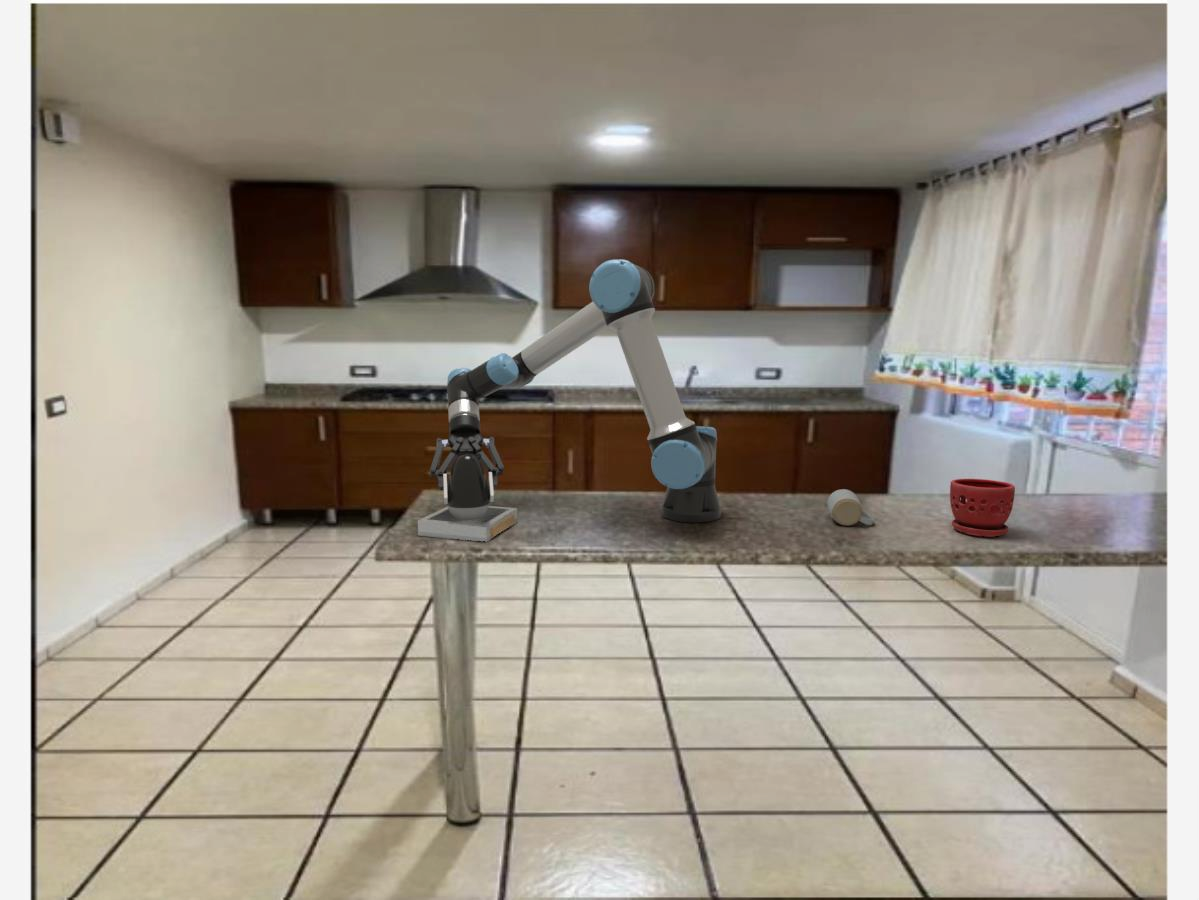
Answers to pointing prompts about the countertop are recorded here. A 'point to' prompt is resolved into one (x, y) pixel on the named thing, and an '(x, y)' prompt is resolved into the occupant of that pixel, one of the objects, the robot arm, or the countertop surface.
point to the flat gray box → (467, 524)
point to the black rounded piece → (468, 488)
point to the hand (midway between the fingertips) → (469, 499)
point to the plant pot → (981, 506)
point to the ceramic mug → (847, 508)
